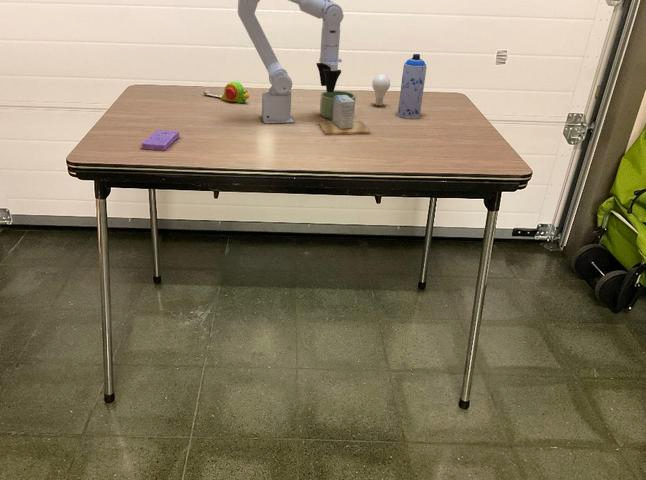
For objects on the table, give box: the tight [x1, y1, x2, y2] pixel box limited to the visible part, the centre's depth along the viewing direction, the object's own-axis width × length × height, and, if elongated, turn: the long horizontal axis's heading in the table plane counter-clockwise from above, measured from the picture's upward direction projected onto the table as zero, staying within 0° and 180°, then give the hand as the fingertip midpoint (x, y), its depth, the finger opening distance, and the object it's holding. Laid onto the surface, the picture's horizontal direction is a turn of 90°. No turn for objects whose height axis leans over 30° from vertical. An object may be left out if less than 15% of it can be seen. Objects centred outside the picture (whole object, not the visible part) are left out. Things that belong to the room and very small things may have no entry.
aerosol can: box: [396, 53, 427, 120], centre depth 203 cm, size 8×8×20 cm
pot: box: [319, 90, 357, 121], centre depth 204 cm, size 11×11×7 cm
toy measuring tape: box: [203, 80, 250, 104], centre depth 218 cm, size 6×19×7 cm, turn 57°
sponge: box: [141, 129, 180, 151], centre depth 177 cm, size 7×13×2 cm, turn 170°
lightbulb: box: [371, 73, 391, 107], centre depth 215 cm, size 6×6×11 cm
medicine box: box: [331, 95, 356, 129], centre depth 192 cm, size 8×4×9 cm, turn 15°
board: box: [318, 120, 371, 136], centre depth 193 cm, size 14×11×1 cm
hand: (327, 88), depth 197 cm, fingers open, 7 cm apart
